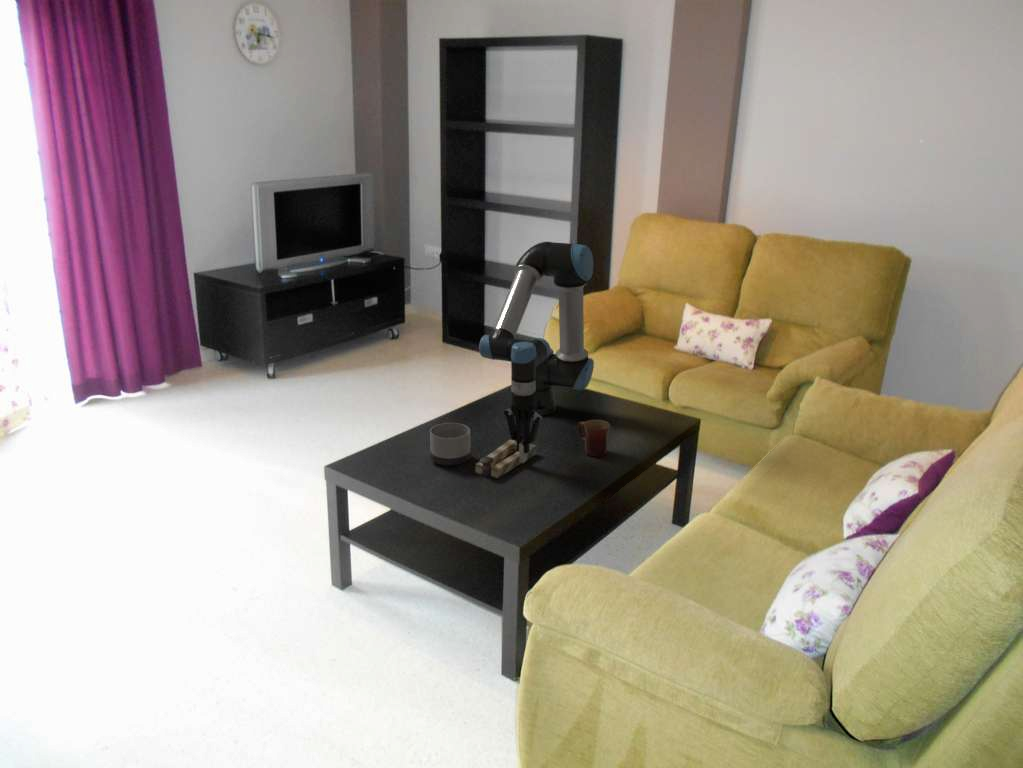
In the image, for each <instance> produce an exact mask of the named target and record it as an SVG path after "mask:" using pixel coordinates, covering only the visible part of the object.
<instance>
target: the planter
mask: <svg viewBox="0 0 1023 768" xmlns="http://www.w3.org/2000/svg"><path fill="white" fill-rule="evenodd" d="M429 441H430V442H429V444H430V449H429V450H430V459H431V461H433V462H434V463H436V464H439V465H442V466H447V465H449V466H452V465H453V466H457V465H461V464H463V463H466V462H468V460H470V458H471V429H470V427H469V426H467V424H463V423H457V422H444V423H439V424H436V425H434V426H432V427H431V428H430V429H429ZM449 466H448V467H449ZM453 466H452V467H453Z"/></svg>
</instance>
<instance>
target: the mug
mask: <svg viewBox="0 0 1023 768" xmlns="http://www.w3.org/2000/svg"><path fill="white" fill-rule="evenodd" d="M582 426H583V427H584V432H585V435H584V433H583V429H582ZM611 426H612V425H611V424H610V423H609V422H608V421H606V420H603V419H589V420H586V421H582V420H581V421H579V422H578V424H577V433H578V436H579V437H580V438H581V439H582V441H584V452H585V454H587V455H588V456H589V457H593V458H595V457H596V458H598V457H599V458H600V457H603V456H605V455H606V454H607V451H608V443H609V442H608V441H609V440H608V438H609V431H610V429H611Z"/></svg>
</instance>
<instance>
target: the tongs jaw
mask: <svg viewBox="0 0 1023 768" xmlns="http://www.w3.org/2000/svg"><path fill="white" fill-rule="evenodd" d="M537 447H538V446H537V445H536V444H532V443H531V444H529V452H528V453H527V460H526V461H528V460H529V459H531V458H533V457H534V456H536V455H537V450H538V449H537ZM521 464H522V463H520V462H519V452H516V453H512V454H510V456H507V457H505V458H504V459H502V460H501V461H500V462H498V463H497V464H496V465H494V466H493V467H491V476H490V477H492V478H494V479H495V478H496V479H499V478H500V477H502V476H504V475H506V474H507V473H508V472H510V471H511V470H513V469H515V468H516V467H518V466H520V465H521Z"/></svg>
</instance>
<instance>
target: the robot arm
mask: <svg viewBox="0 0 1023 768" xmlns="http://www.w3.org/2000/svg"><path fill="white" fill-rule="evenodd" d="M593 273H594V256H593V252H592V251H591V249H590V248H589V246H587V245H585V244H578V243H569V242H568V243H566V242H554V241H542V242H538V243H537V244H535V245H533V246H531V247H530V248H528V250H526V251H525V252H524V253H523V254H522V256H521V257H520V258H519V259H518V261H517V262H516V264H515V267H514V270H513V274H514V277H513V280H512V282H511V285H510V287H509V290H508V292H507V294H506V297H505V300H504V302H503V304H502V307H501V310H500V313H499V315H498V317H497V320H496V323H495V325H494V327H493V330H492V332H491V333H490V334H484V335H483V336H481V338H480V341H479V344H478V351H479V354H480V356H481V357H482V358H484V359H487V360H488V359H489V360H492V361H493V360H494V361H495V360H496V361H503V362H504V361H505V362H511V363H510V365H511V366H510V368H511V369H510V371H511V378H510V379H511V385H510V386H511V389H510V390H511V394H510V397H511V400H510V401H511V402H510V403H511V405H510V407H509V408H507V409H505V410H504V411H503V414H504V416H505V417H506V421H507V426H508V429H509V430H508V431H509V433H510V440H513V441H516V442H517V451H518V452H519V462H520V463H521V464H524V463H525V462H526V461H528V460H527V453H528V452H529V444H532V443H534V442H535V441H536V439H537V435H538V431H539V427H540V422H541V421H542V419H543V418H544V416H547V415H550V414H553V413H554V412H555V411H556V410H557V402H556V398H555V395H554V392H553V386H554V387H561V388H566V389H573V390H585V389H586V388H587V387H588V386H589V384H590V382H591V379H592V375H593V372H594V367H595V366H594V365H595V362H594V359H593V358H591V357H589V352H588V350H587V349H586V348H585V337H584V336H585V334H584V332H585V330H584V328H585V327H584V326H585V325H584V287H585V286H587V284H588V281H589V280H591V279H592V276H593ZM543 277H552V278H553V285H554V286H556V288H558V291H557V292H558V325H559V326H558V327H559V328H558V329H559V349H557V350H556V352H555V353H554V350H553V348H551V346H550V343H549V342H548V341H547V340H546V339H544V338H543V337H536V338H533V339H530V340H529V339H521V338H516V334H517V332H518V330H519V327H520V326H521V322H522V320H523V318H524V315H525V313H526V309H527V307H528V305H529V302H530V300H531V296H532V295H533V292H534V290H535V287H536V285H537V284H539V283H540V281H541V280H542V278H543ZM532 419H533V422H532ZM531 423H532V425H531ZM531 426H532V427H531Z"/></svg>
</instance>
